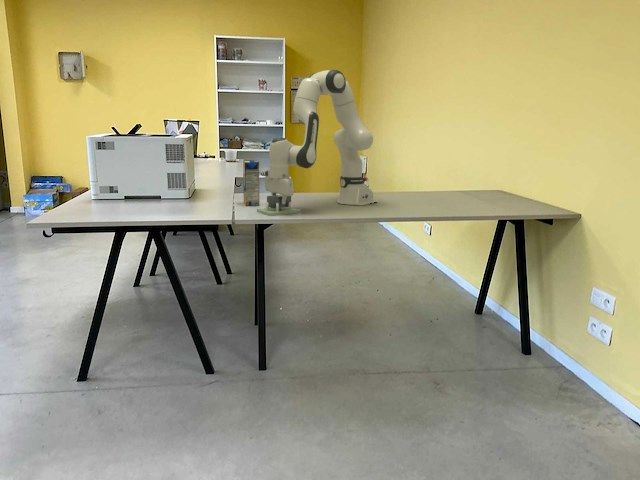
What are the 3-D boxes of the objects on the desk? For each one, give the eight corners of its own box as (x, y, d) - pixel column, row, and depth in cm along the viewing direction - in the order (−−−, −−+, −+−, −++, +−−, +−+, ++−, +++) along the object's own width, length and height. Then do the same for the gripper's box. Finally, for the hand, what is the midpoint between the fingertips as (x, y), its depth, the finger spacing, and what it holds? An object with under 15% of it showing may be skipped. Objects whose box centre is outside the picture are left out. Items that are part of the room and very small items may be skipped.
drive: (284, 204, 233) (284, 194, 232) (291, 206, 229) (291, 195, 227) (266, 206, 227) (266, 195, 226) (273, 208, 223) (273, 197, 222)
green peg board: (287, 208, 238) (287, 198, 237) (300, 212, 229) (300, 201, 228) (256, 211, 228) (256, 200, 227) (269, 216, 219) (269, 204, 218)
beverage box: (245, 206, 241) (245, 162, 236) (243, 202, 252) (243, 160, 246) (259, 206, 243) (259, 162, 238) (256, 202, 253) (256, 160, 248)
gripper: (297, 175, 218) (296, 205, 221) (273, 171, 234) (273, 199, 237) (285, 176, 214) (285, 206, 218) (262, 171, 230) (262, 200, 234)
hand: (279, 202), depth 228 cm, fingers closed on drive, 5 cm apart
